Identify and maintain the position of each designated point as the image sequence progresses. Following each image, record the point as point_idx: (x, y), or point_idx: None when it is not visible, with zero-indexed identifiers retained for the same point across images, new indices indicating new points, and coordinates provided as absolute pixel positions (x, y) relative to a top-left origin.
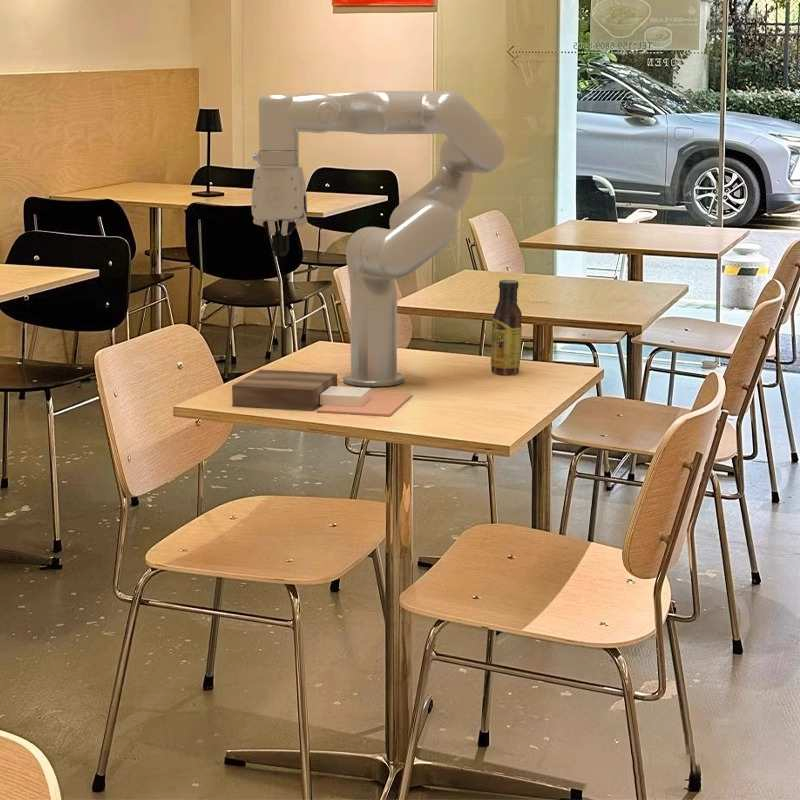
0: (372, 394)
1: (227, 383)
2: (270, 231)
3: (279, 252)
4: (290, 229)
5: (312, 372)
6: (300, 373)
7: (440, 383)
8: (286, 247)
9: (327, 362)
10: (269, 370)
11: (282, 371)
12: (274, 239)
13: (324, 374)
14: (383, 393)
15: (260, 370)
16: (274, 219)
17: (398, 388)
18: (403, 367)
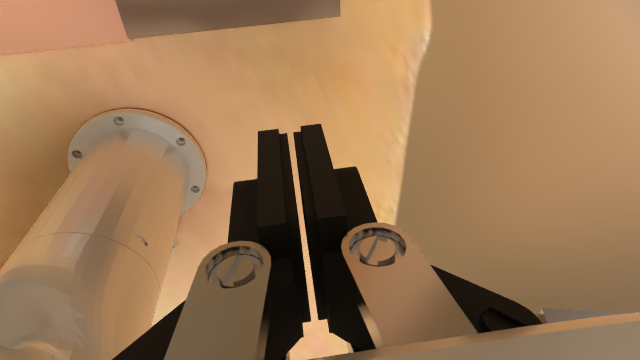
0: (38, 22)
1: (427, 39)
2: (405, 256)
3: (278, 137)
4: (164, 328)
5: (194, 27)
6: (217, 2)
7: (7, 197)
8: (233, 193)
9: (309, 268)
10: (312, 11)
11: (274, 11)
12: (334, 192)
13: (150, 12)
14: (22, 43)
15: (335, 2)
16: (352, 354)
17: (50, 125)
18: (164, 281)
